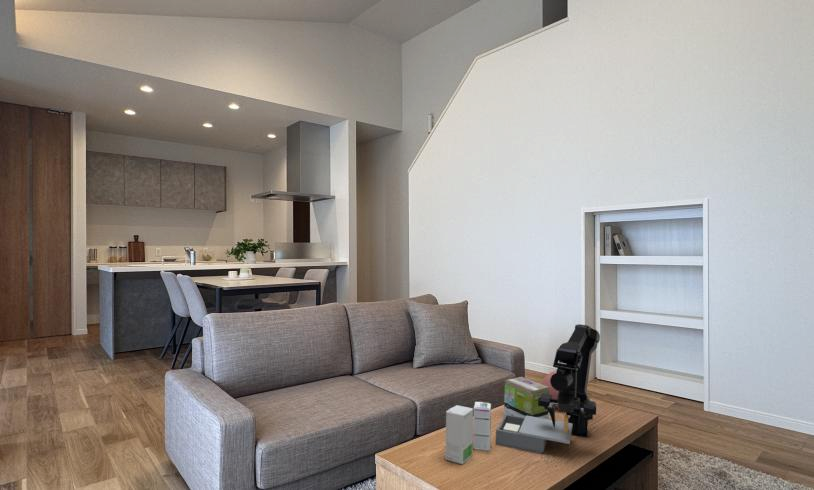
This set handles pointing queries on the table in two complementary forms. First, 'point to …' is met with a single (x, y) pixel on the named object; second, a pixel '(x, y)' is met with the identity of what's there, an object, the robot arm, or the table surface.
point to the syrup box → (482, 426)
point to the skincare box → (459, 434)
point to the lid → (547, 429)
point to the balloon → (552, 391)
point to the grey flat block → (517, 436)
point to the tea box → (524, 398)
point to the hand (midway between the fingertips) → (566, 428)
